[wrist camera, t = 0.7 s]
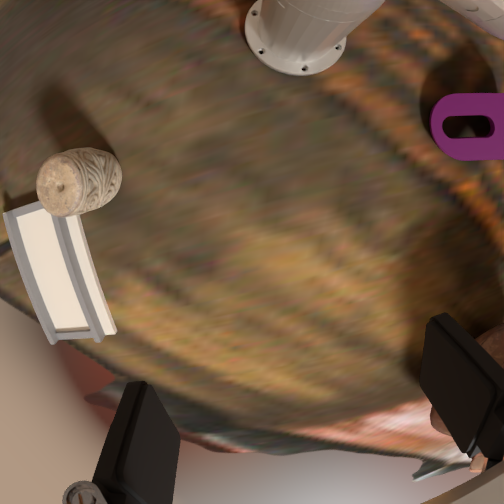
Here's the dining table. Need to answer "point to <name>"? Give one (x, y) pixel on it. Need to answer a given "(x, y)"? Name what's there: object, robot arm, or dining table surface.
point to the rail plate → (58, 274)
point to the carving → (78, 181)
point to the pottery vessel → (500, 348)
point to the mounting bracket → (487, 104)
